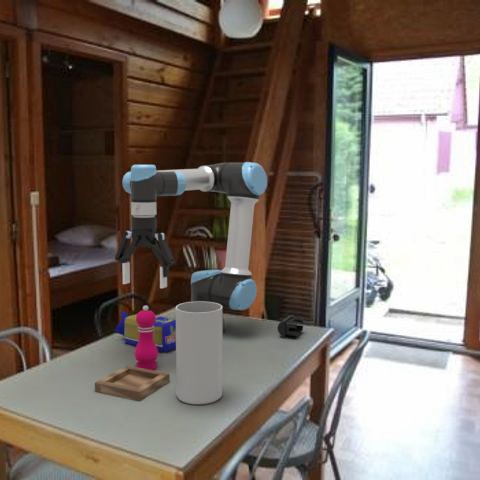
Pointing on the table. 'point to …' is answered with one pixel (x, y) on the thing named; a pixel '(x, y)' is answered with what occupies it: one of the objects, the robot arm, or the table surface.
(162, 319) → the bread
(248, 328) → the table surface
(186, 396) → the cylinder vase
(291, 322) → the end cap
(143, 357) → the pepper mill
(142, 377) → the walnut holder
